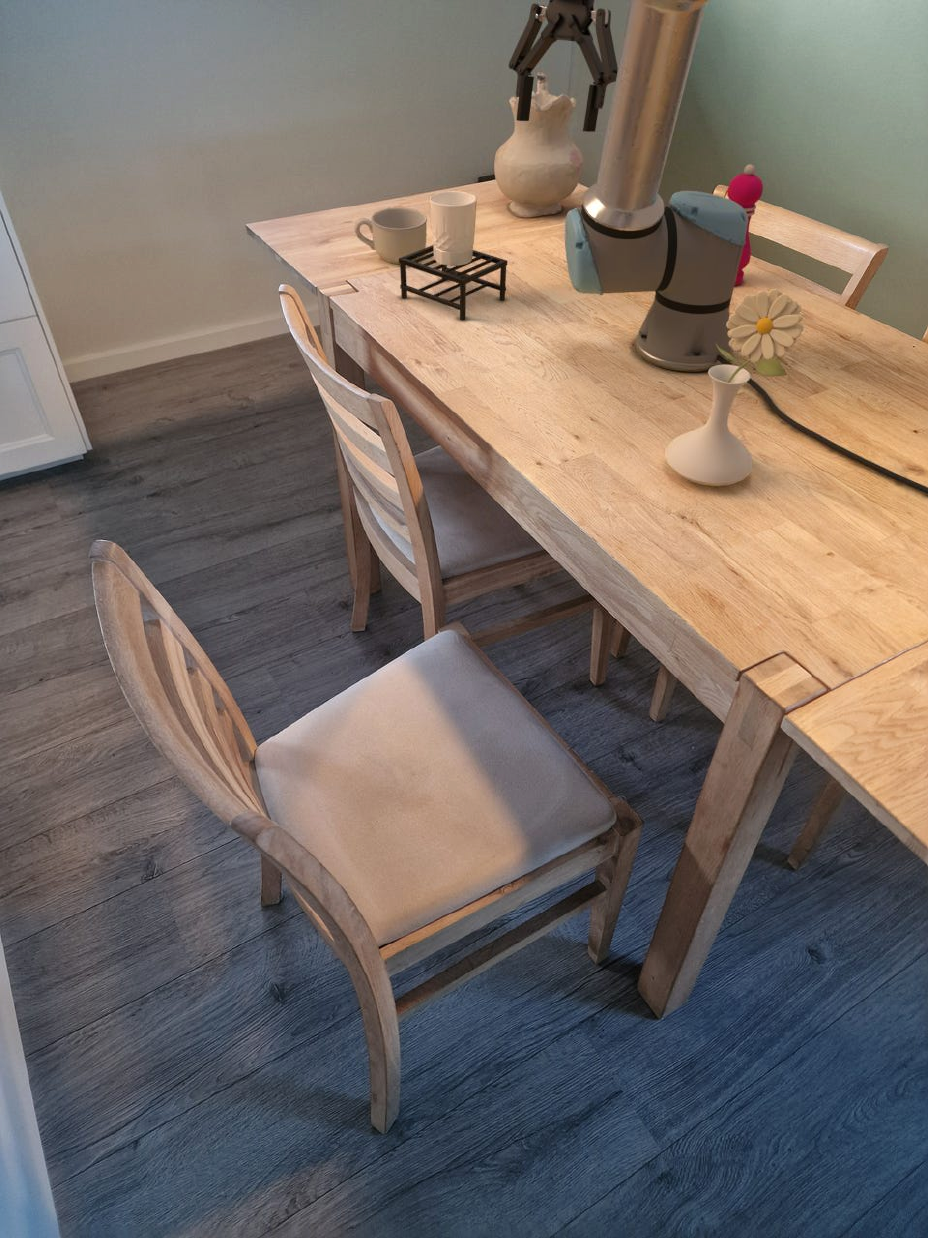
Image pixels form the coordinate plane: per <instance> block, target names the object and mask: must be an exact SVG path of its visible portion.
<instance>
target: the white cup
mask: <svg viewBox="0 0 928 1238" xmlns="http://www.w3.org/2000/svg"><path fill="white" fill-rule="evenodd" d="M477 200H478V198H477V196H476V195H474V194H473V193H469V192H467V191H466V192H465V191H457V190H447V191H440V192H437V193H433V194H432V195H431V196H430V197H429V208H430V209H429V211H430V225H431V239H432V245H434V246H433V249H434V251H433V252H434V256H433V260H434V259H435V261H436V262H437V264H439V265H441V264H442V265H448V266H449V267H455V266H460V265H464V264H467V263H469V262H471V260H472V259H473V258H474V256H473V250H474V244H475V232H476V220H477V219H476V218H477V217H476V216H477V203H478V201H477ZM448 266H447V267H448Z"/></svg>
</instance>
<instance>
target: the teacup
mask: <svg viewBox="0 0 928 1238" xmlns="http://www.w3.org/2000/svg"><path fill="white" fill-rule="evenodd" d="M427 222H428V216H427V215H426V214H425V213H424V212H422V211H421V210H418V209H415V208H412V207H411V208H410V207H404V206H403V207H402V206H395V207H385V208H382V209H380V210H377V211H375V212H374V213H373V214H372V215H371V218H370V219H369V218H366V217H363V218H360V219H357V221H356V222H355V225H354V233H355V235H356V237H357V238H358V239H359V241H361V242H362V243H364V244H366V245H367V246H369V247H370V249H371V250H373V251H375V252H376V253H377V255H378V256H379V257H381V258H383V260H384V261H386V262H388V263H390V264H393V265H394V264H395V265H400V263H399V258H401V257H404V256H407V255H409V254H412V253H414V252H417V251H419V250H422V249H424V248H427V247H426V246H427ZM364 225H365V226H367V227H368V229H369V231H370V233H371V234H372V239H369V238H368V237H366V236H365V235H364V234H362V232H361V230H360V229H361V227H362V226H364ZM416 259H418V258H416ZM416 259H413V260H411V261H414V260H416Z"/></svg>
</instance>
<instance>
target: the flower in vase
mask: <svg viewBox="0 0 928 1238" xmlns="http://www.w3.org/2000/svg"><path fill="white" fill-rule="evenodd" d="M734 308H735V309H734V310H733V311H732V314H729V315H730V316H729V321H728V322H727V324H726V326H727V328H729V329H730V330H729V331H728V337H730V338H732V339H731V340H730V341H729V346H730V347H732V351H734V352H737V354H738V355H739V356H742V357H743V358H746V359H747V360H746V361H745V362H743V363H742V364H740V363H739V361H737V359H736V358H735V356H734V355H732V354H729V353H727V352H725V351H724V350H722V349H720V348H719V347H718V346H717V344H716V343H715V344H716V346H717V348H718V350H719V351H720V352H721V353H722V354H723V355H724V356H726V357H727V358H728V359H729V360H730V361H731V362H733V363H735V364H736V365H734V364H733V365H716V366H713V367H711V368H710V369H709V370H707V372H708V376H709V378H710V380H711V382H712V386H713V397H712V405H711V410H710V413H709V417H708V419H707V422H706V423H705V424H704V425H703V426H700V427H698V428H697V427H696V428H695V429H692V430H690V431H687V432H683V434H681V435H678V436H677V437H676V438H674V439H672V441H671V442H669V444H668V446H667V447H666V449H665V452H664V458H665V461H666V463H667V465H668V467H669V469H671V471H672V472H674V473H675V474H676V475H677V476H679V477H681V478H682V479H685V480H686V481H689V482H692V483H695V484H699V485H703V486H710V487H723V486H729V485H733V484H737V483H739V482H741V481H743V480H744V479H745V478H747V477H748V476H749V475H750V474H751V473H752V471H753V468H754V460H753V456H752V454H751V451H750V450H749V449H748V448H747V446H746V445H745V444H744V443H743V442H742V441H741V440H740V439H739V438H738V437H737V436H736V435H735V434H733V432H731V431H730V429H729V427H728V420H729V416H730V413H731V408H732V406H733V403H734V400H735V398H736V396H737V394H738V392H739V391H740V390H741V388H742V387H743V386H744V385H745V384H747V382H748V381H749V380H750V378H752V376H751V374H750V372H749V371H748V370H746V369H745V368H744V367H746V366H747V365H748V364H749V363H751V362H752V363H754V367H755V369H756V371H757V373H758V374H759V375H760V376H763V377H784V376H787V372H786V370H785V368H784V366H783V364H782V362H781V361H780V359H779V358H783V357H785V356H786V354H787V353H788V352H789V351H790V348H792V347H793V346H794V344H796V342H797V339H799V338H800V337H801V335H802V332H803V331H804V329H805V326H804V325H803V324H802V323H801V322H802V321H803V319H804V317H803V315H802V314H801V313H800V312H801V311H802V305H801V304H799V303H798V300H796V299H793V298H792V297H791V296H789V294H787V293H783V292H782V291H780V290H779V289H778V288H772V289H771V290H759V291H758V292H757V293H752V294H751V295H750V294H746V295H745V296H743V299H742V300H741V301H740V303H739V304H737V305H736V306H735V307H734Z"/></svg>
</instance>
